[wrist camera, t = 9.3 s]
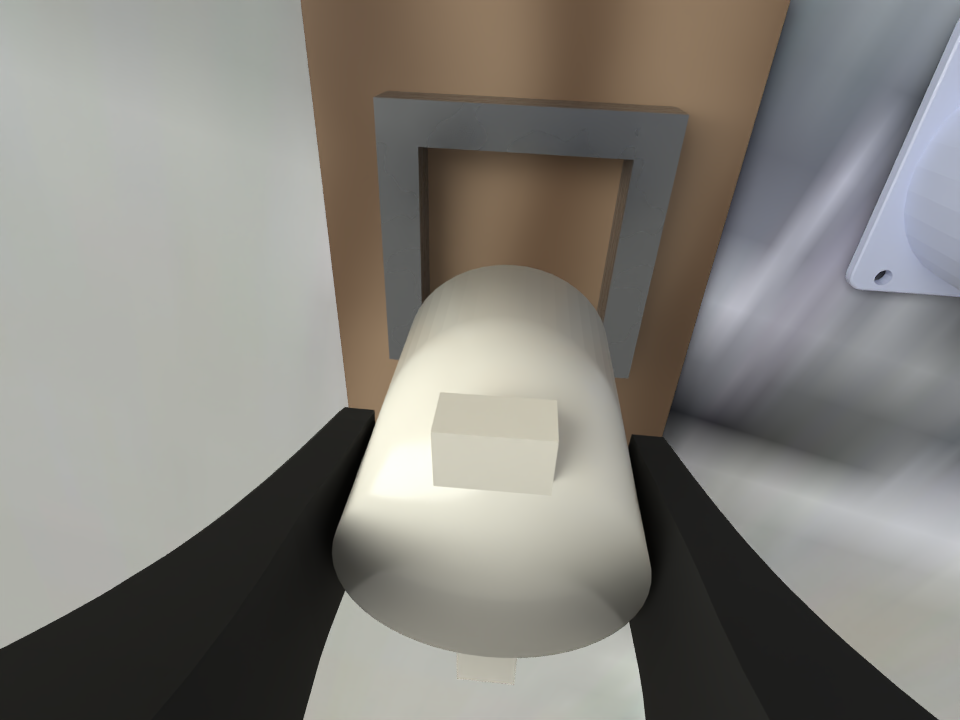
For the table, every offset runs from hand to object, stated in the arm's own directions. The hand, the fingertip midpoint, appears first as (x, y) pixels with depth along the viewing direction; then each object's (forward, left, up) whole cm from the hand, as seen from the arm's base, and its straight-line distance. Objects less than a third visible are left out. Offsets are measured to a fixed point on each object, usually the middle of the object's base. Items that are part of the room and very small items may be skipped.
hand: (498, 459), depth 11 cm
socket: (0, -1, -9) cm, 9 cm away
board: (0, +4, -10) cm, 10 cm away
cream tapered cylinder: (0, +1, -3) cm, 4 cm away
